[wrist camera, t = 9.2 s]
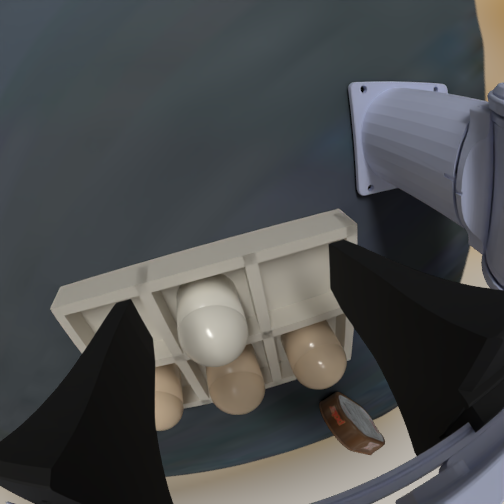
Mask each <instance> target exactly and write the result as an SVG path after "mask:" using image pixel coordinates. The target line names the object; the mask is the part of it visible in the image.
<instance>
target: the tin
mask: <svg viewBox="0 0 504 504" xmlns="http://www.w3.org/2000/svg"><path fill="white" fill-rule="evenodd" d="M319 408H320V412H321V414H322V417H323V419H324V421H325V422H326V424H327V426H328V428H329V429H330V431H331V432H332V433H333V435H334V436H335V437H336V438H337V440H338V441H339V442H340V443H341V444H342V445H343V446H345V447H346V448H347V449H348V450H350V451H353V452H358V453H363V454H367V455H371V454H372V453H374V452H375V451H376V450H378V449H379V448H381V447H382V446H383V445H384V444H385V440H384V437H383V436H382V434H381V433H380V432H379V431H378V429H377V428H376V426H375V424H374V422H373V420H372V418H371V417H370V416H369V414H368V413H367V412H366V411H365V410H364V409H363V408H362V407H361V406H360V405H358V404H357V403H355V402H354V401H353V400H351V399H349V398H348V397H346V396H345V395H343V394H342V393H340V392H335V393H333V394H332V395H330V396H329V397H328V398H326V399H325V400H323V401H321V402H320V403H319Z"/></svg>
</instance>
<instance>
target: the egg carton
mask: <svg viewBox="0 0 504 504" xmlns="http://www.w3.org/2000/svg"><path fill="white" fill-rule="evenodd" d="M343 239H344V240H347V241H349V242H352V243H354V244H356V245H357V223H356V222H354V221H353V220H352V219H351V218H350V217H348V216H347V215H346V214H345V213H344V212H342V211H341V210H340V209H336V210H332V211H328V212H324V213H320V214H316V215H312V216H309V217H305V218H301V219H297V220H293V221H289V222H286V223H282V224H278V225H274V226H271V227H267V228H263V229H259V230H256V231H252V232H248V233H245V234H241V235H237V236H234V237H230V238H226V239H223V240H219V241H215V242H212V243H208V244H205V245H201V246H197V247H194V248H190V249H187V250H183V251H180V252H176V253H173V254H169V255H166V256H162V257H159V258H155V259H152V260H148V261H145V262H141V263H138V264H135V265H131V266H128V267H124V268H121V269H118V270H114V271H111V272H108V273H104V274H101V275H98V276H94V277H91V278H88V279H84V280H81V281H78V282H74V283H71V284H68V285H65V286H61V287H60V289H59V291H58V293H57V295H56V297H55V299H54V301H53V304H52V306H51V308H50V310H51V311H52V313H53V314H54V316H55V317H56V319H57V320H58V321H59V323H60V324H61V326H62V327H63V329H64V330H65V331H66V333H67V334H68V336H69V337H70V338H71V340H72V341H73V342H74V344H75V345H76V346H77V348H78V349H79V350H80V352H81V353H83V352H84V350H85V349H86V347H87V346H88V344H89V343H90V341H91V340H92V338H93V337H94V335H95V334H96V332H97V330H98V329H99V327H100V326H101V324H102V323H103V321H104V320H105V318H106V316H107V315H108V313H109V312H110V311H111V309H112V308H113V306H114V305H115V304H116V303H117V302H121V301H125V300H129V299H131V300H132V302H133V304H134V305H135V307H136V309H137V311H138V313H139V315H140V316H141V318H142V320H143V322H144V324H145V325H146V327H147V329H148V331H149V332H150V334H151V336H152V337H153V343H154V353H155V367H158V366H163V365H168V364H172V363H175V364H177V365H178V367H179V368H180V371H181V384H182V395H183V407H184V408H190V407H194V406H199V405H204V404H208V403H213V401H212V399H211V397H210V394H209V389H208V382H207V376H206V369H205V366H203V365H200V364H198V363H196V362H194V361H193V360H191V359H190V358H189V357H188V356H187V355H186V354H185V353H184V351H183V349H182V348H181V346H180V343H179V340H178V331H177V304H176V295H177V290H178V288H179V286H180V285H181V284H185V283H188V282H192V281H195V280H199V279H203V278H206V277H210V276H214V275H217V274H223V275H225V276H227V277H228V278H230V279H231V280H232V281H233V283H234V284H235V286H236V289H237V292H238V295H239V299H240V302H241V305H242V308H243V312H244V315H245V318H246V321H247V325H248V340H247V344H252V346H253V348H254V350H255V354H256V357H257V360H258V363H259V366H260V370H261V373H262V376H263V379H264V383H265V389H267V388H270V387H273V386H277V385H280V384H283V383H286V382H290V381H293V380H296V379H297V378H296V377H295V375H294V373H293V370H292V368H291V365H290V363H289V361H288V358H287V356H286V353H285V351H284V348H283V346H282V343H281V340H280V337H281V334H284V333H287V332H291V331H294V330H297V329H300V328H303V327H306V326H309V325H312V324H315V323H318V322H321V321H324V320H326V321H327V322H328V324H329V326H330V327H331V329H332V331H333V332H334V334H335V336H336V337H337V339H338V341H339V342H340V344H341V346H342V347H343V349H344V351H345V354H346V359H347V361H348V360H351V352H352V341H353V330H354V327H353V326H352V324H351V323H350V321H349V320H348V318H347V317H346V316H345V314H344V313H343V311H342V310H341V308H340V306H339V304H338V302H337V300H336V298H335V297H334V295H333V293H332V291H331V289H330V266H329V245H328V244H330V243H333V242H336V241H340V240H343ZM247 344H246V345H247Z"/></svg>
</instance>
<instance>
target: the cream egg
mask: <svg viewBox="0 0 504 504" xmlns="http://www.w3.org/2000/svg"><path fill="white" fill-rule="evenodd" d="M176 304H177V331H178V340H179V343H180V346H181V348H182V349H183V351H184V353H185V354H186V355H187V356H188V357H189V358H190V359H191V360H193V361H194V362H196V363H198V364H200V365H203V366H207V367H220V366H224V365H227V364H229V363H231V362H233V361H234V360H236V359H237V358H238V357H239V356H240V355H241V353H242V352H243V350H244V349H245V346H246V344H247V340H248V325H247V321H246V318H245V315H244V312H243V308H242V305H241V302H240V299H239V295H238V292H237V289H236V286H235V284H234V283H233V281H232V280H231V279H230V278H228V277H227V276H225V275H223V274H217V275H214V276H210V277H206V278H203V279H199V280H195V281H192V282H188V283H185V284H181V285H180V286H179V288H178V290H177V295H176Z"/></svg>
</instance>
